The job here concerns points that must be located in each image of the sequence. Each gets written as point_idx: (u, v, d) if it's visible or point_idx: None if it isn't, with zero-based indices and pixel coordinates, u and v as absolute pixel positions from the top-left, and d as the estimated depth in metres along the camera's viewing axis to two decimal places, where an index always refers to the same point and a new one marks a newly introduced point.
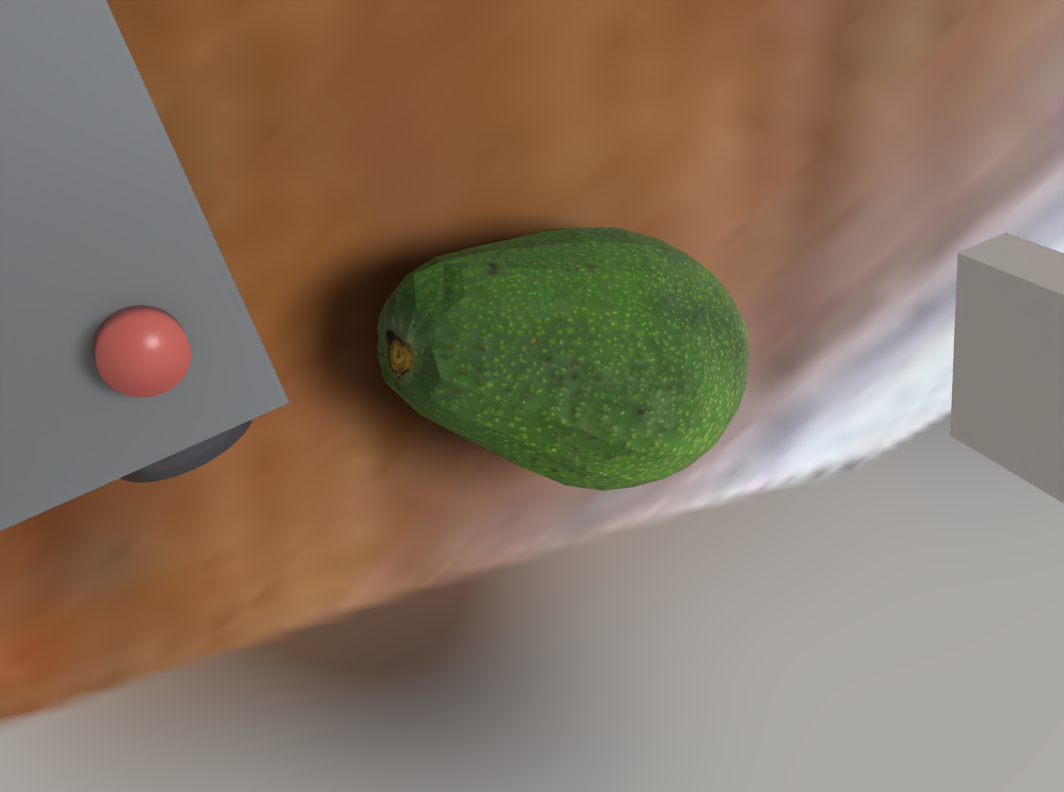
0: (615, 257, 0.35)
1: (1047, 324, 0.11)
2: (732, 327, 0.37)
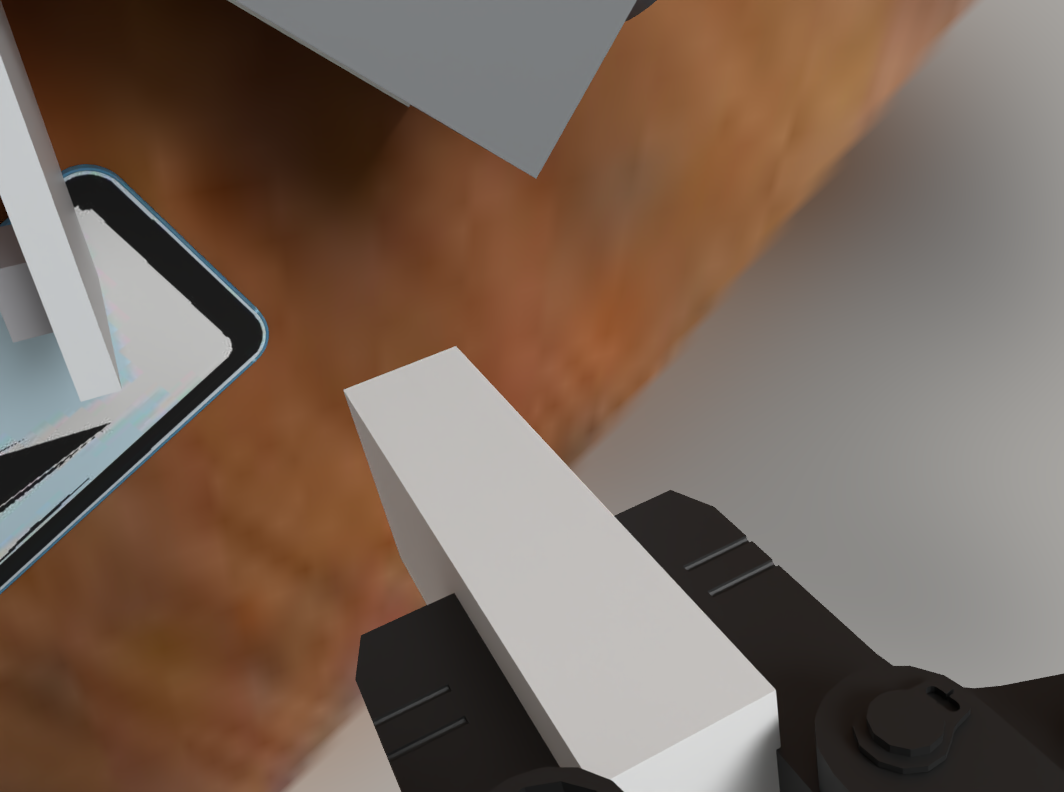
0: None
1: None
2: None
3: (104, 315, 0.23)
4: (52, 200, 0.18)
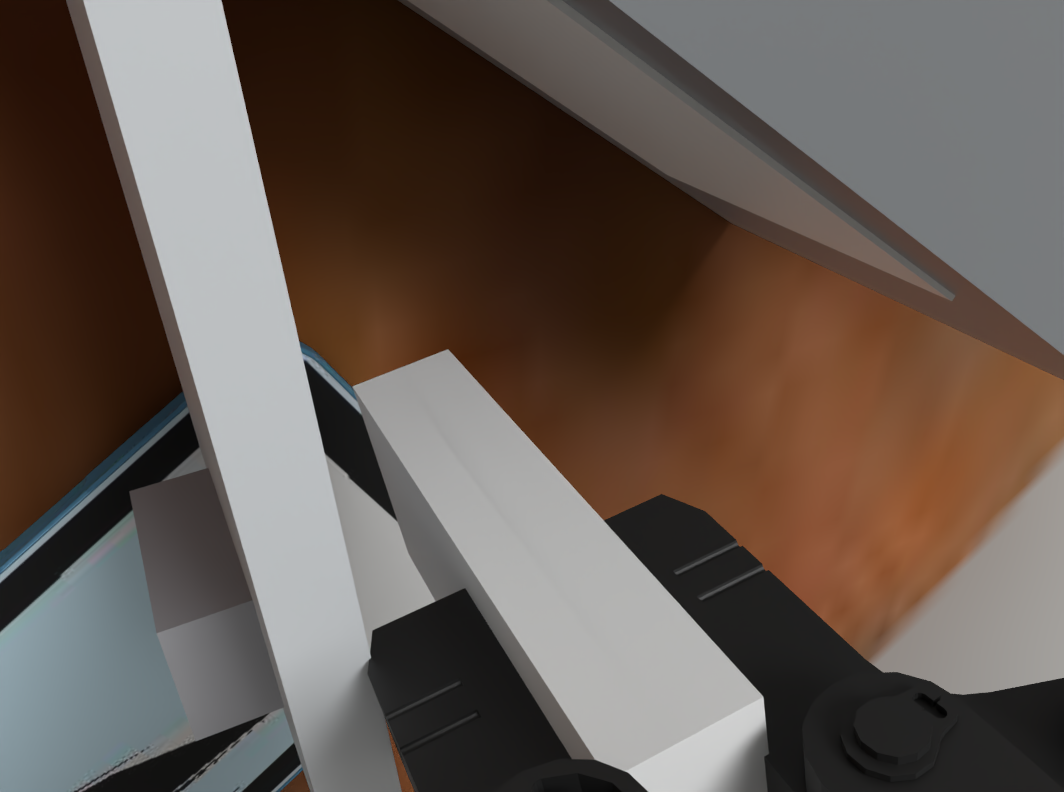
0: None
1: None
2: None
3: None
4: (345, 555, 0.09)
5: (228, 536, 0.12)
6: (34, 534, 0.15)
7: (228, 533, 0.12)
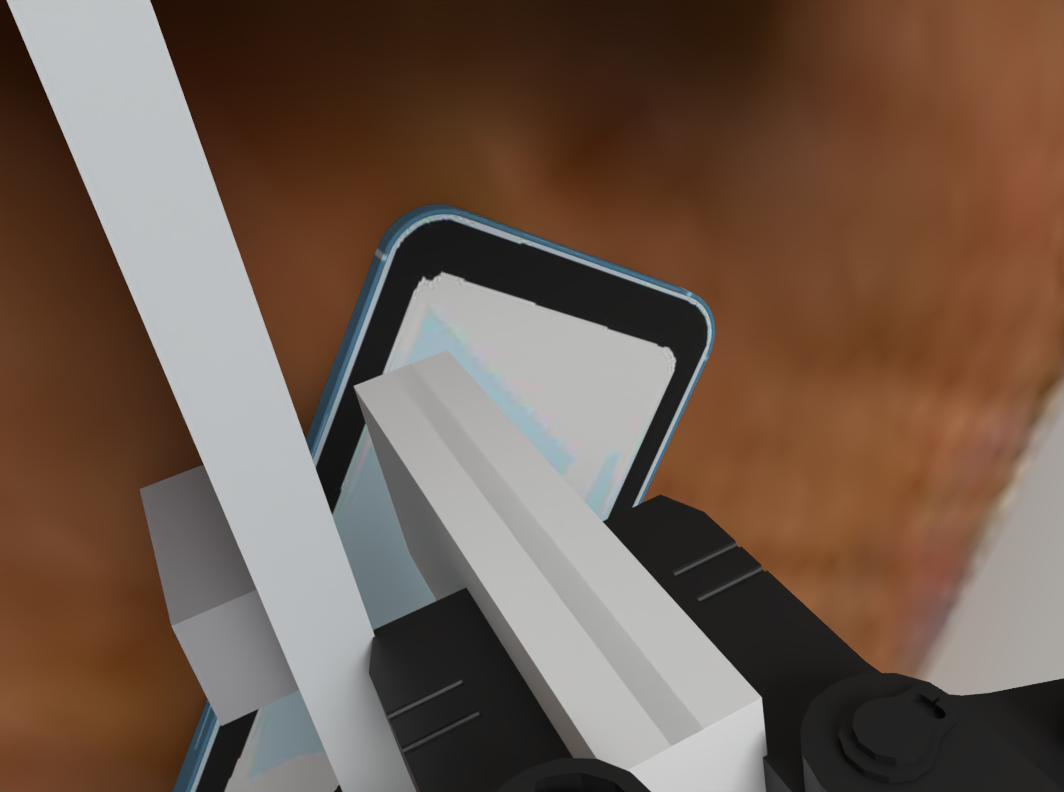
0: None
1: None
2: None
3: None
4: (338, 539, 0.09)
5: None
6: None
7: None
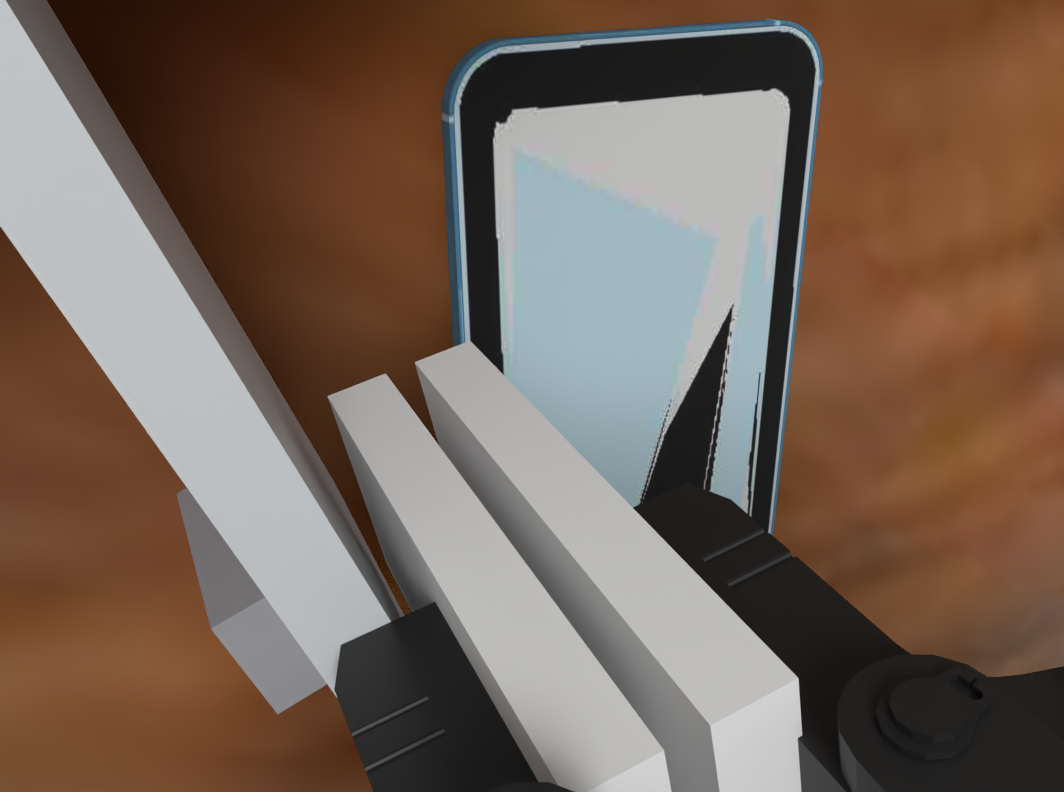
0: None
1: (461, 440, 0.11)
2: None
3: (391, 593, 0.14)
4: (338, 538, 0.09)
5: None
6: (459, 344, 0.17)
7: None
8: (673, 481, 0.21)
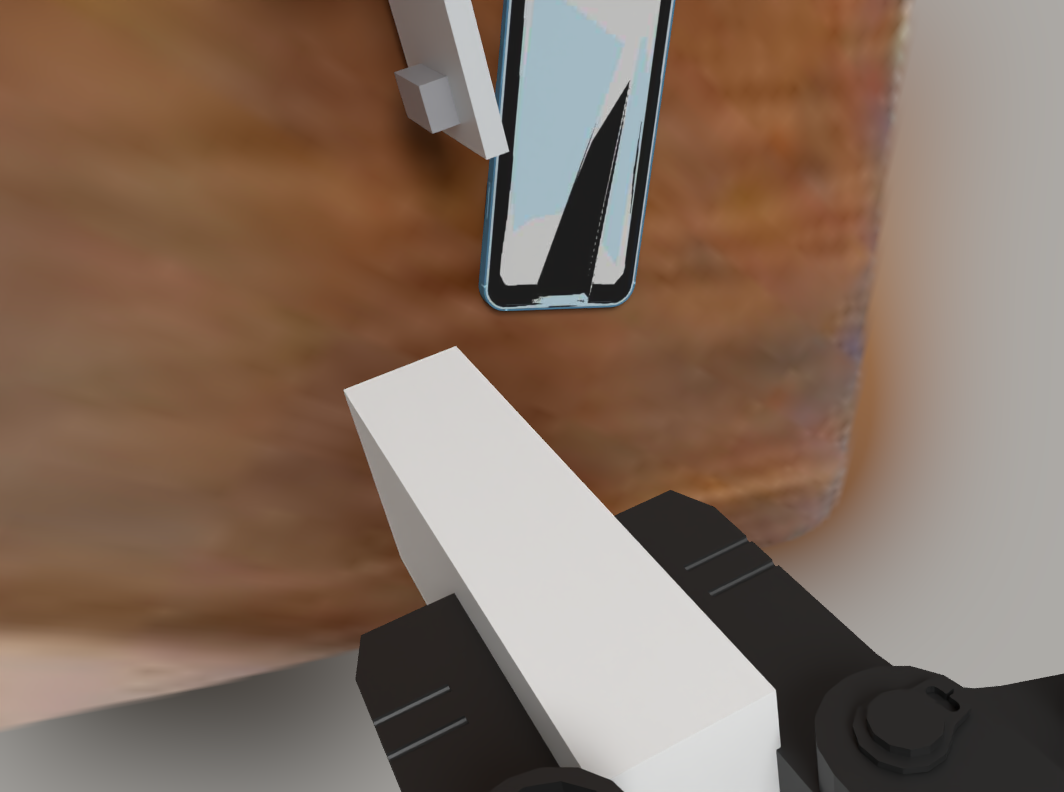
0: None
1: None
2: None
3: None
4: (476, 24, 0.30)
5: (434, 70, 0.34)
6: (501, 66, 0.39)
7: (433, 70, 0.34)
8: (593, 170, 0.42)
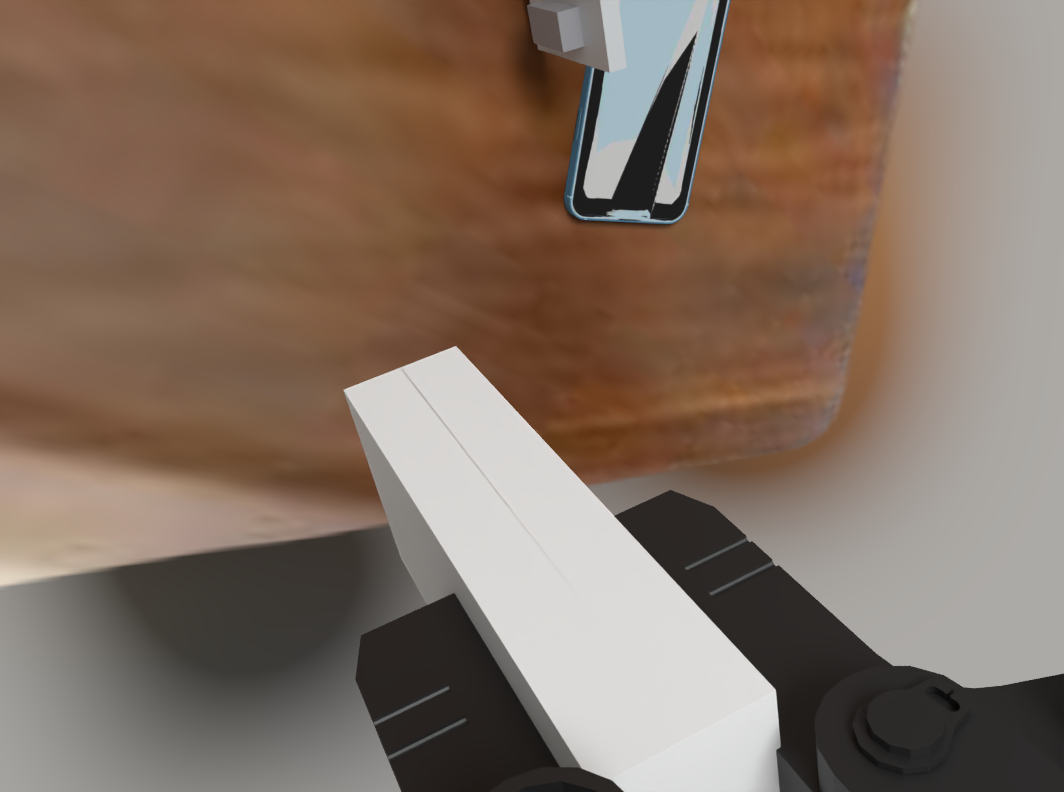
0: None
1: None
2: None
3: None
4: None
5: (564, 3, 0.42)
6: None
7: (563, 3, 0.42)
8: (663, 104, 0.51)
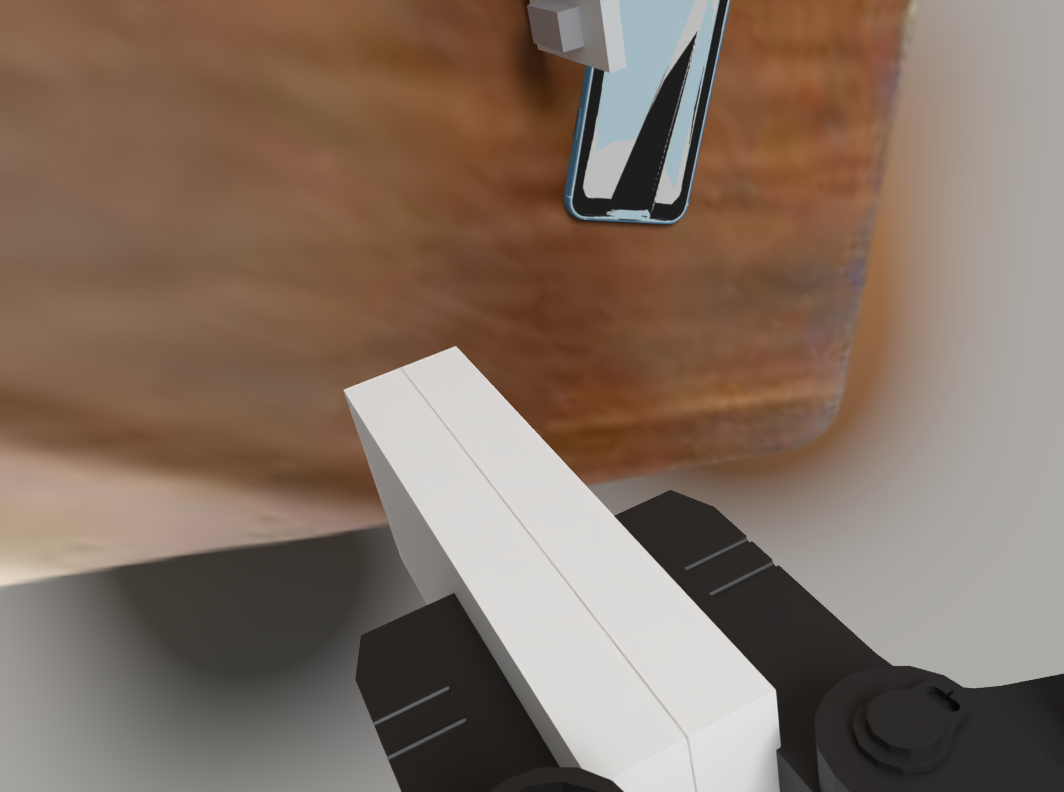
0: None
1: None
2: None
3: None
4: None
5: (564, 3, 0.42)
6: None
7: (563, 3, 0.42)
8: (663, 104, 0.51)
